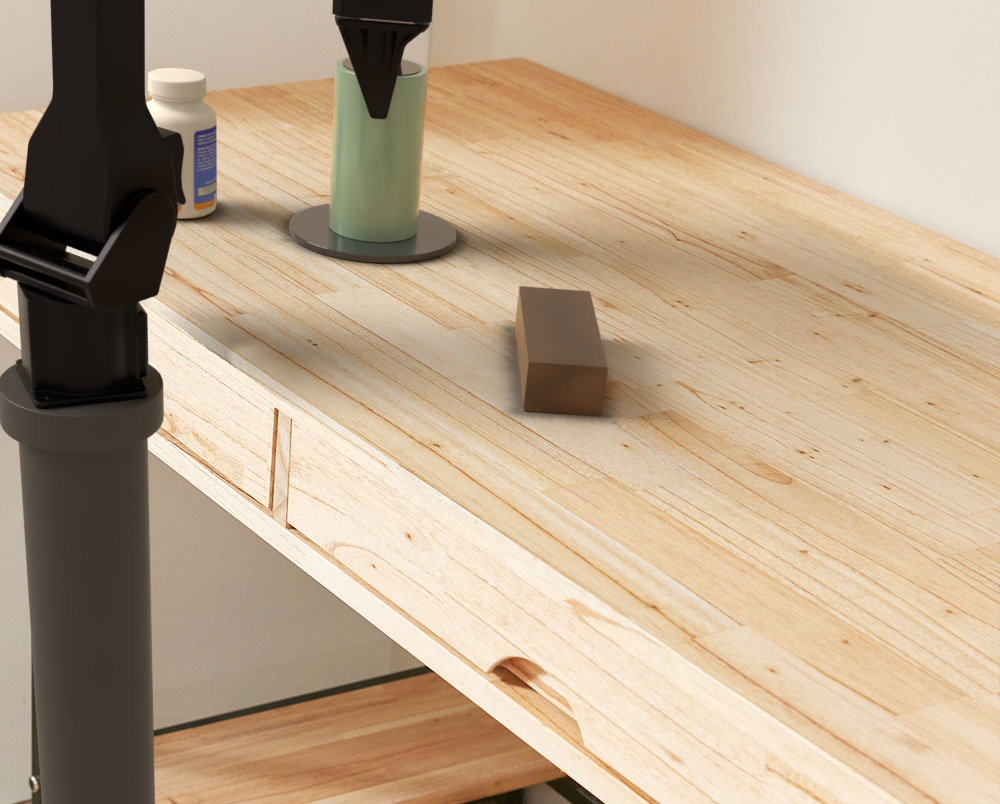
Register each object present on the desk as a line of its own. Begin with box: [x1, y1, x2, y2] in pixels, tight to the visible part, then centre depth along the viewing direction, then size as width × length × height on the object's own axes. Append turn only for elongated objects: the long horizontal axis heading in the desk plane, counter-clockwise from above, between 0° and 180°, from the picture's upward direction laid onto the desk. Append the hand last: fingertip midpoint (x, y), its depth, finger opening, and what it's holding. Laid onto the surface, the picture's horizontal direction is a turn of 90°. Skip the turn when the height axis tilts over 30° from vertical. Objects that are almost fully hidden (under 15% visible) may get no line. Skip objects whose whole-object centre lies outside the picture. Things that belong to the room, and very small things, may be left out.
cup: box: [328, 56, 429, 242], centre depth 108 cm, size 13×6×13 cm
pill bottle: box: [146, 67, 218, 220], centre depth 110 cm, size 5×5×10 cm
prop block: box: [514, 285, 609, 417], centre depth 91 cm, size 4×12×3 cm, turn 2°
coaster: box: [288, 203, 457, 264], centre depth 111 cm, size 12×12×1 cm
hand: (381, 101), depth 107 cm, fingers open, 9 cm apart
